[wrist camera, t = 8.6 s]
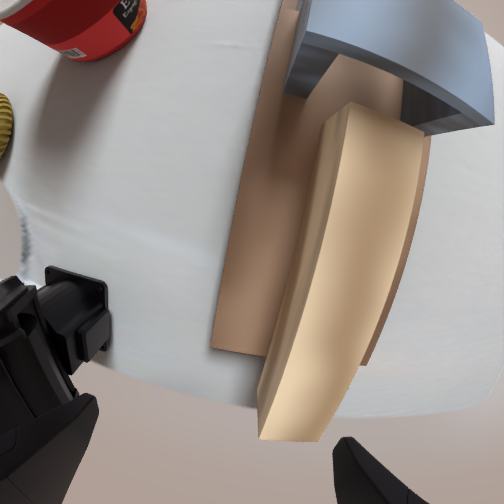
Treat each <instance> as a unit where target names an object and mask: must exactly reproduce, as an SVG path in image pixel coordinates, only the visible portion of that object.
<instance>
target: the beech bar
mask: <svg viewBox="0 0 504 504" xmlns="http://www.w3.org/2000/svg"><path fill="white" fill-rule="evenodd" d="M423 141H424V132H423V131H421V130H419V129H417V128H414V127H412V126H410V125H408V124H406V123H404V122H401V121H399V120H397V119H395V118H392V117H390V116H387V115H385V114H383V113H380V112H378V111H375V110H372V109H370V108H367V107H365V106H362V105H359V104H356V103H353V102H349V103H348V104H347V105H345V106H344V107H343V108H342V109H340V110H339V111H338V112H337V113H335V114H334V115H333V116H331V117H330V118H329V119H328V120H326V121H325V122H324V123H323V124H322V126H321V131H320V137H319V142H318V147H317V152H316V157H315V162H314V167H313V172H312V177H311V182H310V186H309V191H308V196H307V200H306V205H305V209H304V214H303V218H302V223H301V227H300V231H299V235H298V240H297V244H296V248H295V252H294V256H293V260H292V264H291V269H290V273H289V276H288V280H287V284H286V288H285V292H284V296H283V300H282V304H281V307H280V311H279V315H278V318H277V322H276V326H275V329H274V333H273V337H272V340H271V344H270V347H269V351H268V354H267V358H266V361H265V365H264V368H263V371H262V375H261V378H260V381H259V385H258V388H257V411H258V438H259V439H260V440H261V439H262V440H274V441H294V442H295V441H296V442H318V441H319V439H320V437H321V436H322V434H323V433H324V431H325V429H326V428H327V426H328V424H329V422H330V421H331V419H332V417H333V416H334V414H335V412H336V410H337V408H338V407H339V405H340V403H341V401H342V399H343V397H344V395H345V393H346V392H347V390H348V388H349V386H350V384H351V382H352V380H353V378H354V376H355V374H356V371H357V369H358V367H359V365H360V363H361V361H362V359H363V356H364V354H365V352H366V350H367V347H368V345H369V343H370V340H371V338H372V336H373V333H374V331H375V328H376V326H377V323H378V321H379V318H380V315H381V313H382V310H383V307H384V305H385V302H386V299H387V296H388V293H389V290H390V288H391V285H392V281H393V278H394V275H395V272H396V269H397V266H398V262H399V259H400V255H401V252H402V248H403V245H404V241H405V237H406V233H407V229H408V225H409V221H410V217H411V212H412V208H413V203H414V198H415V193H416V188H417V182H418V176H419V170H420V164H421V157H422V149H423Z"/></svg>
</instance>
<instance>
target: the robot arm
mask: <svg viewBox="0 0 504 504" xmlns="http://www.w3.org/2000/svg"><path fill="white" fill-rule="evenodd" d="M49 270H50V271H49ZM50 272H51V273H50ZM45 282H46V285H45V286H43V287H42V288H40V289H38V290H37V289H36V285H29V286H24V283H22V282H21V281H20V280H19V278H18V277H17V276H11V277H9V278H7V279H5V280H3V281H1V282H0V504H62V502H63V499H64V497H65V495H66V493H67V490H68V488H69V486H70V483H71V481H72V479H73V477H74V475H75V472H76V470H77V468H78V466H79V464H80V462H81V460H82V458H83V456H84V454H85V451H86V449H87V447H88V444H89V442H90V439H91V436H92V433H93V430H94V427H95V424H96V421H97V418H98V415H99V408H98V404H97V399H96V397H95V396H93V395H91V394H88V393H84V394H82V395H80V396H79V393H78V391H77V389H76V388H75V387H74V385H73V383H72V381H71V380H70V378H69V376H68V375H72V374H74V372H75V371H76V370H77V369H78V367H79V366H80V365H81V364H82V362H83V361H84V362H86V363H87V362H89V361H90V360H91V359H92V357H93V356H94V355H95V354H96V353H97V351H98V350H101V351H106V350H107V349H108V348H109V337H110V324H109V310H108V308H107V285H106V283H105V282H104V281H101V280H98V279H94V278H91V277H87V276H84V275H80V274H77V273H73V272H70V271H67V270H64V269H60V268H57V267H54V266H48V267H46V268H45ZM99 285H100V286H101V287H102V289H100V287H99ZM103 345H104V346H105V347H104V346H103ZM332 455H333V471H334V486H335V492H336V498H337V504H429V503H427V502H426V501H424V500H423V499H422V498H420V497H419V496H418V495H417V494H415V493H414V492H413V491H412V490H410V489H408V487H407V486H406V485H405V484H404V483H402V482H401V481H400V480H399V479H398V478H397V477H395V476H394V475H393V474H392V473H391V472H390V471H389V470H388V469H387V468H385V467H384V466H383V465H382V464H381V463H380V462H379V461H378V460H377V459H375V458H374V457H373V456H372V455H371V454H370V453H369V452H368V451H367V450H366V449H365V448H364V447H363V446H362V445H361V444H360V443H358V442H357V441H356V440H355V439H354V438H353V437H342V438H341V439H340V440H339V442H338V443H337V445H336V446H335V447H334V449H333V453H332Z"/></svg>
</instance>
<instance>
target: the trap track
mask: <svg viewBox="0 0 504 504" xmlns="http://www.w3.org/2000/svg"><path fill="white" fill-rule="evenodd" d="M349 102H353V103H356V104H359V105H362V106H365V107H367V108H370V109H372V110H375V111H378V112H380V113H383V114H385V115H387V116H390V117H392V118H395V119H397V120H399V121H401V122H404V123H406V124H408V125H410V126H412V127H414V128H417V129H419V130H421V131H423V132H424V141H423V149H422V157H421V164H420V170H419V176H418V182H417V188H416V193H415V198H414V203H413V208H412V212H411V217H410V221H409V225H408V229H407V233H406V237H405V241H404V245H403V248H402V252H401V255H400V259H399V262H398V266H397V269H396V272H395V275H394V278H393V281H392V285H391V288H390V290H389V293H388V296H387V299H386V302H385V305H384V307H383V310H382V313H381V315H380V318H379V321H378V323H377V326H376V328H375V331H374V333H373V336H372V338H371V340H370V343H369V345H368V347H367V350H366V352H365V354H364V356H363V359H362V361H361V363H360V365H362V366H366V365H367V363H368V361H369V359H370V357H371V354H372V352H373V350H374V348H375V346H376V343H377V341H378V339H379V336H380V334H381V331H382V329H383V327H384V324H385V322H386V319H387V317H388V314H389V311H390V309H391V306H392V303H393V300H394V298H395V295H396V292H397V289H398V286H399V283H400V280H401V277H402V274H403V271H404V268H405V264H406V261H407V258H408V254H409V251H410V247H411V243H412V240H413V236H414V232H415V228H416V224H417V219H418V215H419V210H420V206H421V201H422V196H423V191H424V185H425V179H426V173H427V167H428V160H429V152H430V144H431V135H436V134H441V133H446V132H451V131H457V130H463V129H469V128H475V127H481V126H488V125H495V120H494V96H493V84H492V75H491V67H490V60H489V54H488V49H487V44H486V39H485V34H484V30H483V26H482V22H481V21H479V20H478V19H477V18H475V17H474V16H473V15H472V14H471V13H469V12H468V11H467V10H465V9H464V8H462V7H461V6H460V5H458V4H457V3H456V2H454V1H453V0H283V1H282V5H281V8H280V12H279V16H278V20H277V24H276V28H275V32H274V36H273V40H272V44H271V48H270V52H269V56H268V60H267V64H266V69H265V73H264V77H263V81H262V86H261V90H260V94H259V99H258V103H257V107H256V112H255V116H254V121H253V125H252V130H251V135H250V139H249V144H248V148H247V153H246V158H245V163H244V167H243V172H242V177H241V182H240V187H239V192H238V197H237V202H236V207H235V212H234V217H233V222H232V227H231V233H230V238H229V243H228V248H227V254H226V259H225V265H224V270H223V276H222V281H221V287H220V292H219V298H218V304H217V310H216V316H215V321H214V327H213V333H212V339H211V346H210V347H212V348H218V349H223V350H228V351H234V352H240V353H246V354H252V355H259V356H266V357H267V354H268V351H269V347H270V344H271V340H272V337H273V333H274V329H275V326H276V322H277V318H278V315H279V311H280V307H281V304H282V300H283V296H284V292H285V288H286V284H287V280H288V276H289V273H290V269H291V264H292V260H293V256H294V252H295V248H296V244H297V240H298V235H299V231H300V227H301V223H302V218H303V214H304V209H305V205H306V200H307V196H308V191H309V186H310V182H311V177H312V172H313V167H314V162H315V157H316V152H317V147H318V142H319V137H320V131H321V126H322V124H323V123H324V122H325V121H326V120H328V119H329V118H330V117H331V116H333V115H334V114H335V113H337V112H338V111H339V110H340V109H342V108H343V107H344V106H345V105H347V104H348V103H349Z"/></svg>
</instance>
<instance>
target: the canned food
mask: <svg viewBox="0 0 504 504" xmlns="http://www.w3.org/2000/svg"><path fill="white" fill-rule="evenodd" d="M146 14H147V7H146V0H0V21H1V22H4V23H5V24H7V25H9V26H11V27H13V28H15V29H17V30H19V31H21V32H23V33H25V34H27V35H28V36H30V37H32V38H34V39H36V40H38V41H40V42H41V43H43V44H45V45H47V46H49V47H50V48H52V49H54V50H56V51H57V52H59V53H61V54H63V55H64V56H66V57H68V58H70V59H72V60H74V61H84V62H89V61H95V60H99V59H102V58H104V57H106V56H109V55H110V54H112V53H114V52H116V51H117V50H119V49H120V48H121V47H123V46H124V45H125V44H126V43H128V42H129V41H130V40H131V39H132V38H133V37H134V36H135V35H136V34H137V32H138V31H139V29H140V28H141V27H142V25H143V23H144V21H145V18H146Z"/></svg>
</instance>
